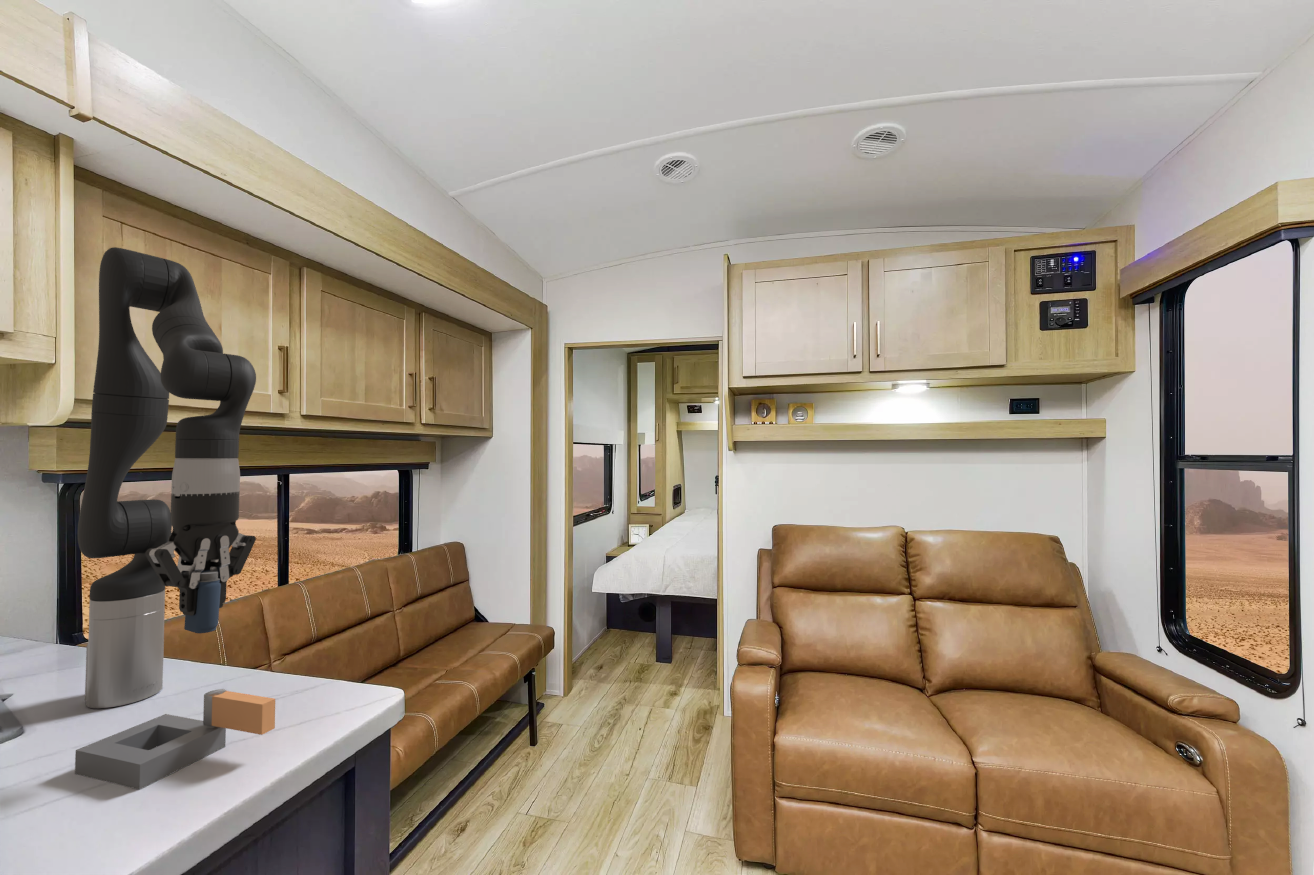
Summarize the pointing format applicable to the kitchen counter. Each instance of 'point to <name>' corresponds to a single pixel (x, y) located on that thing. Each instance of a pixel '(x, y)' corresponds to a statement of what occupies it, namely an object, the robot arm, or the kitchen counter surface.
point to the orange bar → (239, 711)
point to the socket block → (149, 751)
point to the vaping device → (205, 603)
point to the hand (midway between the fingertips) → (202, 610)
